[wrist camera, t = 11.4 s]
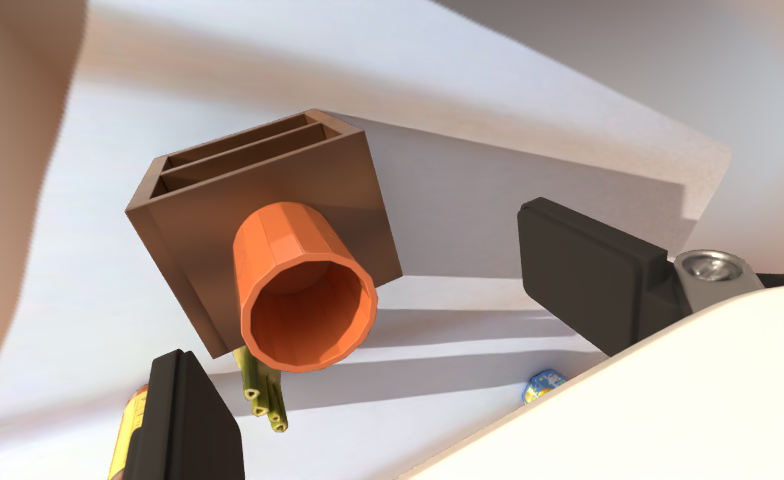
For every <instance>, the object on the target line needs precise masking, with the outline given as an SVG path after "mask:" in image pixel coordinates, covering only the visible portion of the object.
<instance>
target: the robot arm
mask: <svg viewBox="0 0 784 480" xmlns="http://www.w3.org/2000/svg"><path fill="white" fill-rule="evenodd" d="M517 219H518V231H519V242H520V254H521V265H522V277H523V286H524V289H525V291H526V293H527V294H528V295H529V296H530V297H531V298H532V299H534V300H535V301H536V302H538V303H539V304H540V305H542V306H543V307H544V308H546V309H547V310H548V311H550V312H551V313H552V314H553V315H555V316H556V317H557V318H559V319H560V320H561V321H563V322H564V323H565V324H567V325H568V326H569V327H571V328H572V329H573V330H575V331H576V332H577V333H579V334H580V335H581V336H583V337H584V338H585V339H587V340H588V341H589V342H591V343H592V344H593V345H595V346H596V347H597V348H599V349H600V350H601V351H603V352H604V353H605V354H607V355H608V356H609V357H611V358H609V359H607V360H605V361H604V362H602V363H600V364H598V365H596V366H594V367H593V368H591V369H589V370H587V371H585V372H584V373H582V374H580V375H578V376H576V377H575V378H573V379H571V380H569V381H567V382H565V383H564V384H562V385H560V386H558V387H556V388H555V389H553V390H551V391H549V392H547V393H546V394H544V395H542V396H540V397H539V398H537V399H535V400H533V401H531V402H530V403H528V404H526V405H524V406H522V407H521V408H519V409H517V410H515V411H513V412H512V413H510V414H508V415H506V416H504V417H503V418H501V419H499V420H497V421H496V422H494V423H492V424H490V425H488V426H487V427H485V428H483V429H481V430H480V431H478V432H476V433H474V434H472V435H471V436H469V437H467V438H465V439H463V440H462V441H460V442H458V443H456V444H455V445H453V446H451V447H449V448H447V449H446V450H444V451H442V452H440V453H439V454H437V455H435V456H433V457H432V458H430V459H428V460H426V461H425V462H423V463H421V464H419V465H417V466H416V467H414V468H412V469H410V470H409V471H407V472H405V473H403V474H402V475H400V476H398V477H396V478H395V479H393V480H784V274H759V273H755V272H754V271H753V270H752V268H751V267H750V265H749V264H748V263H746V262H745V261H744V260H743V259H741V258H739V257H737V256H735V255H732V254H729V253H726V252H721V251H715V250H692V251H688V252H685V253H682V254H680V255H679V256H677V257H676V259H675V261H674V263H672V262H670V261H667V254H668V251H667V250H665V249H662V248H660V247H658V246H655V245H653V244H651V243H648V242H646V241H644V240H641V239H639V238H637V237H634V236H632V235H630V234H627V233H625V232H623V231H620V230H618V229H616V228H613V227H611V226H609V225H606V224H604V223H602V222H599V221H597V220H595V219H592V218H590V217H588V216H585V215H583V214H581V213H578V212H576V211H574V210H571V209H569V208H567V207H564V206H562V205H560V204H557V203H555V202H553V201H550V200H548V199H545V198H543V197H539V198H536V199H534V200H532V201H529V202H527V203H525V204H523V205H522V206H521V209H520V211H519V212H518V214H517ZM122 480H245V472H244V461H243V450H242V439H241V433H240V429H239V426H238V424H237V422H236V420H235V419H234V417H233V416H232V414H231V412H230V411H229V409H228V408H227V406H226V404H225V403H224V401H223V400H222V398H221V396H220V395H219V393H218V392H217V390H216V388H215V387H214V385H213V384H212V382H211V380H210V379H209V377H208V376H207V374H206V372H205V371H204V369H203V368H202V366H201V364H200V363H199V361H198V360H197V358H196V356H195V355H194V353H193V352H192V351H188V352H185V353H184V352H183V351H182V350H181V349H177V350H175V351H172V352H170V353H167V354H165V355H163V356H160V357H158V358H156V359H154V360H153V362H152V368H151V373H150V379H149V385H148V390H147V396H146V402H145V407H144V413H143V419H142V424H141V426H140V427H138V428H136V429H135V430H134V431H133V432H132V435H131V438H130V442H129V447H128V452H127V457H126V462H125V467H124V472H123V477H122Z"/></svg>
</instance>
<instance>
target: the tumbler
mask: <svg viewBox="0 0 784 480" xmlns="http://www.w3.org/2000/svg"><path fill="white" fill-rule="evenodd" d="M233 269H234V277H235V286H236V294H237V302H238V311H239V319H240V327H241V334H242V336H243V338H244V340H245V342H246V344H247V346H248V348H249V349H250V351H251V353H252V354H253V356H255V357H256V358H258V359H259V360H261V361H262V362H264V363H265V364H267V365H268V366H270V367H271V368H273V369H278V370H283V371H289V372H294V373H300V372H307V371H314V370H321V369H324V368H326V367H328V366H330V365H332V364H334V363H336V362H339V361H341V360H343V359H345V358H346V357H347V356H348V355H349V354H350V353H352V352H353V351H354V350H355V349H356V348H357V347H358V346H359V345H360V344H361V343H362V342H363V341H364V340H365V338H366V336H367V334H368V333H369V331H370V329H371V327H372V326H373V324H374V322H375V318H376V311H377V303H378V296H377V293H376V290H375V287H374V283H373V280H372V278H371V276H370V275H369V273H368V272H367V271H366V270H365V268H364V267H363V266H362V264H361V263H360V262H359V260H358V259H357V258H356V256H355V255H354V254H353V252H352V251H351V250H350V248H349V247H348V246H347V244H346V243H345V242H344V240H343V239H342V238H341V236H340V235H339V234H338V232H337V231H336V230H335V228H334V227H333V226H332V225H331V224H330V223H329V222H328V220H327V219H326V218H325V217H324V216H323V215H322V214H321V213H320V212H319V211H317V210H316V209H314V208H312V207H310V206H308V205H305V204H302V203H297V202H279V203H274V204H270V205H267V206H265V207H263V208H261V209H259V210H257V211H256V212H254V213H253V214H252V215H250V216H249V217H248V218H247V219H246V220H245V221H244V222H243V224H242V225H241V226H240V228H239V230H238V232H237V234H236V236H235V239H234V243H233Z"/></svg>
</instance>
